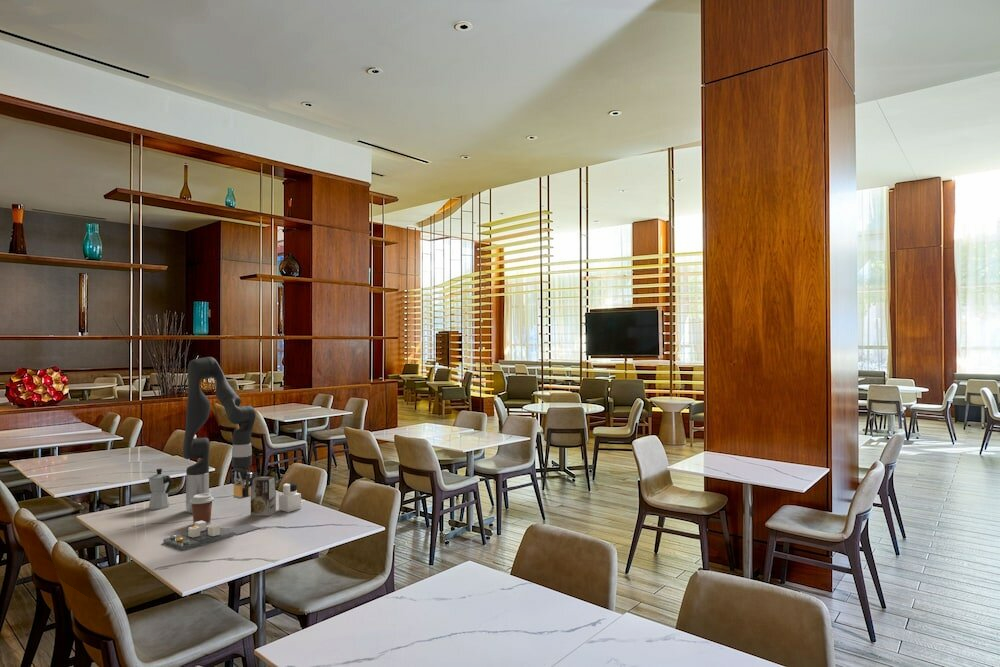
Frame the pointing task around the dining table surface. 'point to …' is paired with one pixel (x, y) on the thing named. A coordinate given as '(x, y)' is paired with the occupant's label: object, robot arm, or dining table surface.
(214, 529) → the breaker
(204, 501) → the coffee cup
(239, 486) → the lockout cap
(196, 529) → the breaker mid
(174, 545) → the dark grey flat slab
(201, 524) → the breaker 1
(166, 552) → the dining table surface
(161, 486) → the coffee maker
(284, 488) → the medicine bottle
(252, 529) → the lockout mat
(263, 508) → the coffee box
